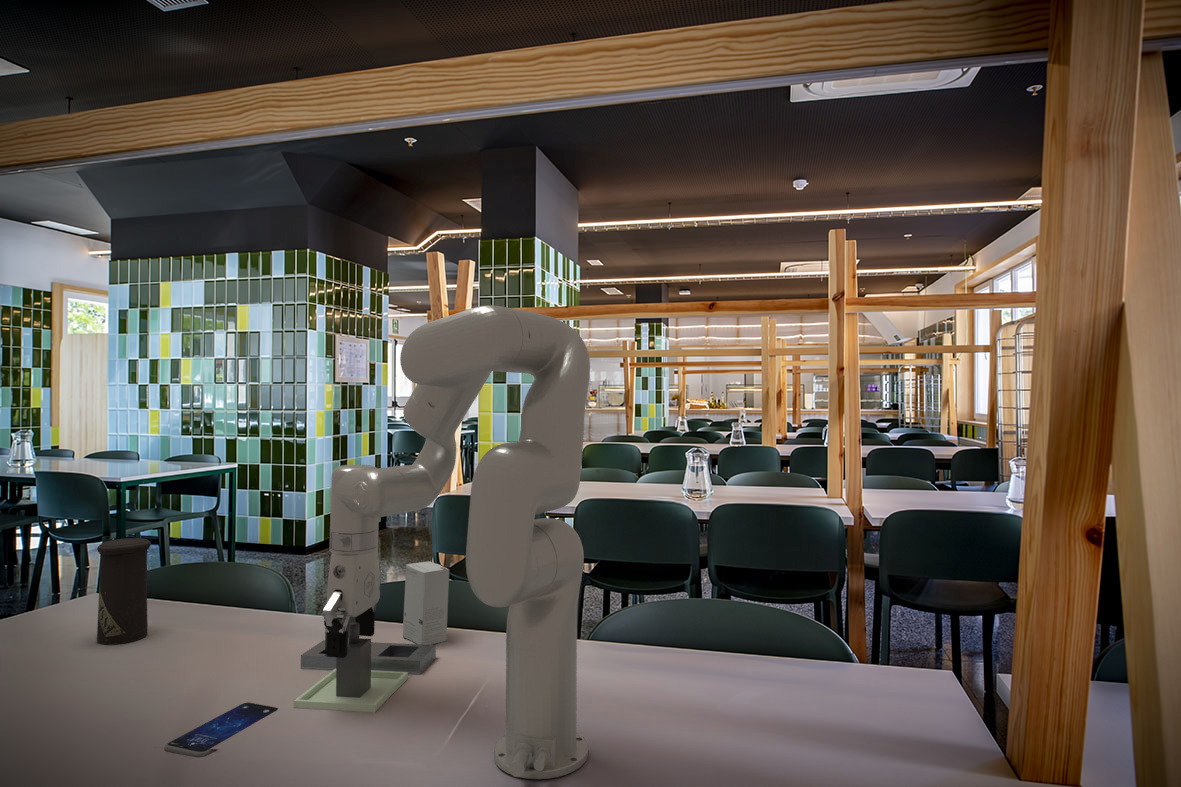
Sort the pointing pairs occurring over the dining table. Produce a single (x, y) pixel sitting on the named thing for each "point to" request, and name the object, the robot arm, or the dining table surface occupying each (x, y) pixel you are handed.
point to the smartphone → (218, 730)
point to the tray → (370, 701)
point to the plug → (354, 666)
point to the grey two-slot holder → (376, 656)
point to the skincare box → (426, 603)
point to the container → (122, 591)
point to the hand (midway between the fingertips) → (351, 645)
